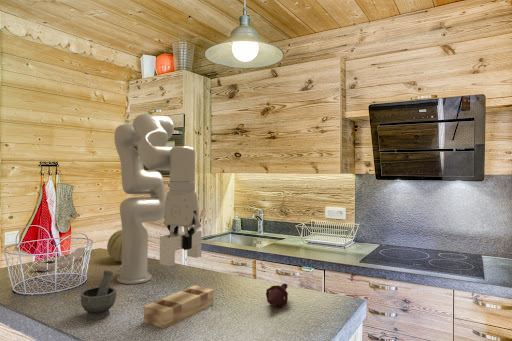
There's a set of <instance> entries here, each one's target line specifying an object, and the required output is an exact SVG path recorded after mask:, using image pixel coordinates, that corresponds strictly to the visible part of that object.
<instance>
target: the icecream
mask: <svg viewBox="0 0 512 341" xmlns="http://www.w3.org/2000/svg"><path fill="white" fill-rule="evenodd" d="M288 287H289V286H288V284H287V283H282V284H281V285H272V286H270V287H269V288H267V289H266V293H265V297H266V301H267V304H269V305H270V306H271V307H272V308H278V309H281V308H283V307H285V305H287V303H288V298H289V297H288V295H289V292H288V291H287V288H288Z"/></svg>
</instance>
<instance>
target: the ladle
mask: <svg viewBox="0 0 512 341" xmlns="http://www.w3.org/2000/svg"><path fill="white" fill-rule="evenodd" d="M85 248H86V247H79V246H78V248H76V249H75V250H74V251H73V253H71V254H70V255H69V256H68V257H65V258H66V260H65V258H64V257H63V258H60V259H56V260H57V266H58V267H59V269H62V268H65V267H69V266H70V267H71V266H73V265H72V260H73V256H75V260H74V262H75V263H76V261H77V260H78V259H79V258H80V257H81V256H83V255H84V254H85V252H84V251H85ZM68 261H69V266H67V265H68ZM62 262H63V265H62ZM47 263H48V271H47ZM54 268H55V260H47V261H45V262H41V263H39V264H37V265H35V269H31V270H30V272H31V273H35V272H34V270H35V271H36V269H37V271H36V272H40V271H41V272H52V271H55V270H54Z"/></svg>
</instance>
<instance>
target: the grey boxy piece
mask: <svg viewBox="0 0 512 341" xmlns="http://www.w3.org/2000/svg"><path fill="white" fill-rule="evenodd" d="M202 233H203V232H202V230H196V232H195V233H194V235H192V248H191V249H188V250H186V256H187V257H191V258H196V259H197V258H200V257H202ZM184 236H185V232H184V231H181V232H180V231H179V233H174V234H170V233H169V234H166V235H161V236H159V265H162V266H166V267H167V266H168V267H171V266H175V265H176V251H180V250H184V249H183V237H184Z"/></svg>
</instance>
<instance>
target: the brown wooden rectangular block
mask: <svg viewBox="0 0 512 341" xmlns="http://www.w3.org/2000/svg"><path fill="white" fill-rule="evenodd" d="M214 295H215V290H214V289H213V288H209V287H203V286H199V285H195V284H194V285H192V286H190V287H187V288H185V289H183V290H180V291H178V292H175V293H172V294H170V295H168V296H165V297H163V298H160V299H158V300H155V301H152V302H151V303H149V304H146V305H143V323H146V324H149V325H152V326H155V327H158V328H162V329H167V328H168V327H171V326H173V325H175V324H177V323H179V322H181V321H183V320H184V319H186V318H189V317H190V316H192V315H195V314H196V313H198V312H201V311H202V310H204V309H206V308H208V307H210V306H211V305H214V303H215V301H214V300H215V299H214V297H215V296H214Z"/></svg>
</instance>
